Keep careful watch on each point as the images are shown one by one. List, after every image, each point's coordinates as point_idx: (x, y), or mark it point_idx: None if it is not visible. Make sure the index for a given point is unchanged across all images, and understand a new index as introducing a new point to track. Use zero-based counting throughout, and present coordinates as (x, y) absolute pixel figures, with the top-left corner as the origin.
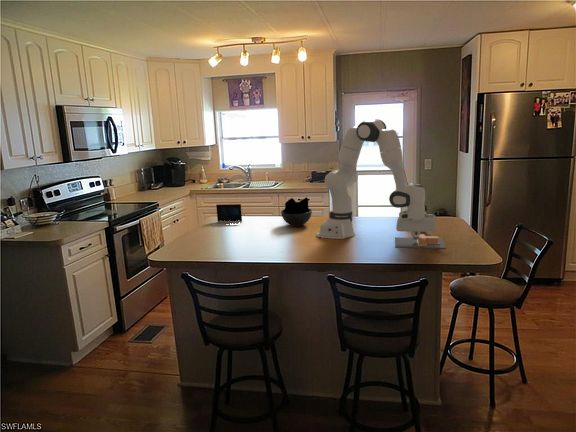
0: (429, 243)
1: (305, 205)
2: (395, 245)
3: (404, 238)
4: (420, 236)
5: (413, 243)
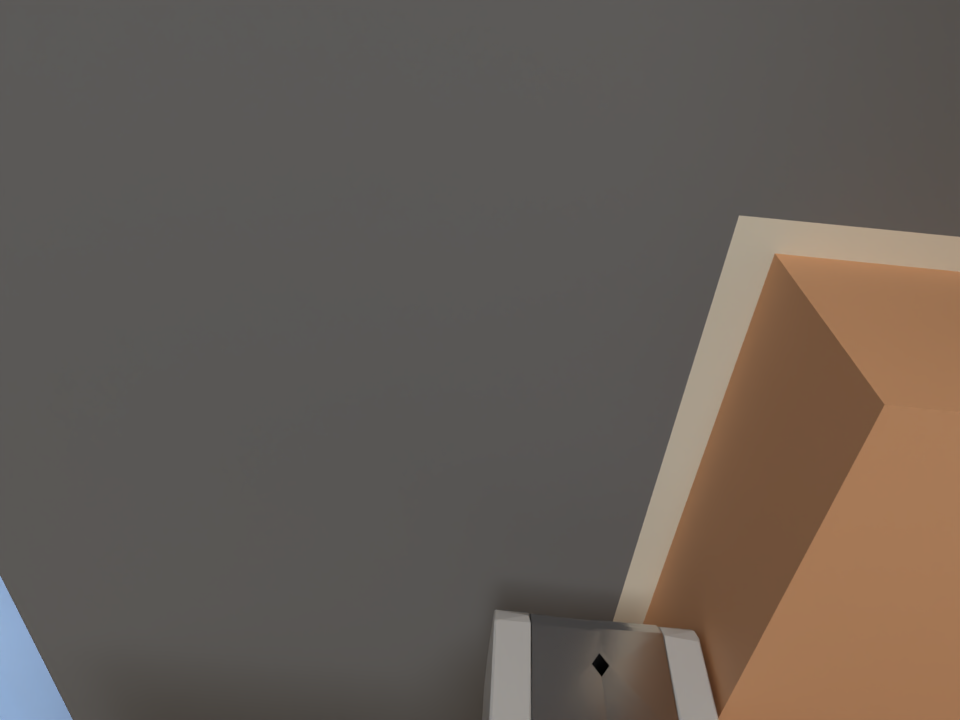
0: None
1: None
2: (70, 704)
3: (183, 69)
4: (816, 712)
5: None
